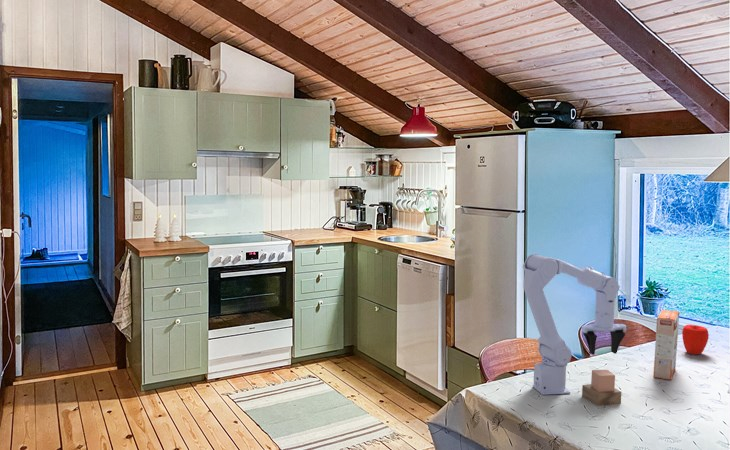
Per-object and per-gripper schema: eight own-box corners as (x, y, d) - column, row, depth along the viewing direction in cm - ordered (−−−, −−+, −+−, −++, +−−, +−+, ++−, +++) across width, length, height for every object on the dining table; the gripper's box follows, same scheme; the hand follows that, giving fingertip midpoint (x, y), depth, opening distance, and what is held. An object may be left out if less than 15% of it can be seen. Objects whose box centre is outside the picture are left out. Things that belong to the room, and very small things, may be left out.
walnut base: (597, 407, 187) (598, 394, 186) (581, 397, 194) (582, 385, 194) (620, 404, 189) (621, 391, 188) (604, 394, 196) (604, 382, 196)
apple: (708, 352, 240) (709, 324, 239) (706, 358, 232) (708, 329, 231) (682, 348, 244) (683, 321, 243) (679, 354, 237) (681, 326, 236)
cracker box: (672, 381, 208) (675, 319, 206) (652, 377, 211) (655, 317, 209) (676, 369, 220) (680, 311, 218) (658, 366, 223) (661, 308, 221)
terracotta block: (598, 391, 188) (598, 375, 188) (591, 385, 193) (591, 370, 193) (614, 391, 189) (615, 375, 188) (606, 385, 194) (607, 369, 193)
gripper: (589, 316, 198) (587, 357, 199) (632, 314, 200) (630, 356, 201) (579, 310, 205) (577, 351, 206) (620, 309, 207) (618, 349, 208)
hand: (602, 353), depth 204 cm, fingers open, 7 cm apart
